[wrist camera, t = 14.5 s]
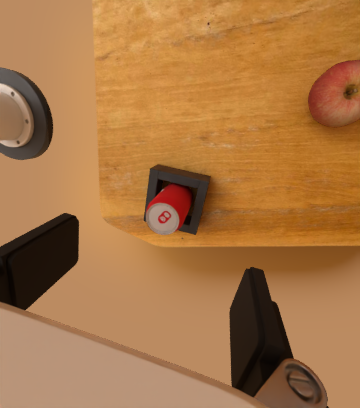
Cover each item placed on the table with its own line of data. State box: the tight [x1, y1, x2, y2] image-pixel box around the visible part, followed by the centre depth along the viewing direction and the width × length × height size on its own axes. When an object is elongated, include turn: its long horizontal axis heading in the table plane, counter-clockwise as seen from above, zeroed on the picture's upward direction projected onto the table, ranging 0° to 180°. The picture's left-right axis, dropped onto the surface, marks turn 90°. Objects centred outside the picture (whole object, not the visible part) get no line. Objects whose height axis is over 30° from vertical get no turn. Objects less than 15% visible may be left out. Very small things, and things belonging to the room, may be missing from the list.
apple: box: [308, 60, 360, 127], centre depth 28 cm, size 8×8×8 cm
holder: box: [144, 165, 210, 235], centre depth 40 cm, size 11×11×4 cm
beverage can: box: [146, 183, 193, 235], centre depth 36 cm, size 6×6×12 cm
